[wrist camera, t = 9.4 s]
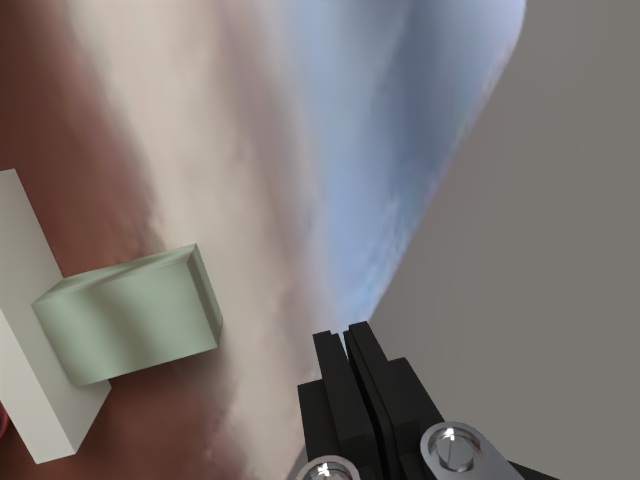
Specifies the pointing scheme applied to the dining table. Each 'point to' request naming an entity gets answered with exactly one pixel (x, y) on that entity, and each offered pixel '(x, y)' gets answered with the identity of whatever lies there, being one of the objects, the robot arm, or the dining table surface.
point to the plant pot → (3, 420)
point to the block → (131, 315)
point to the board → (35, 339)
